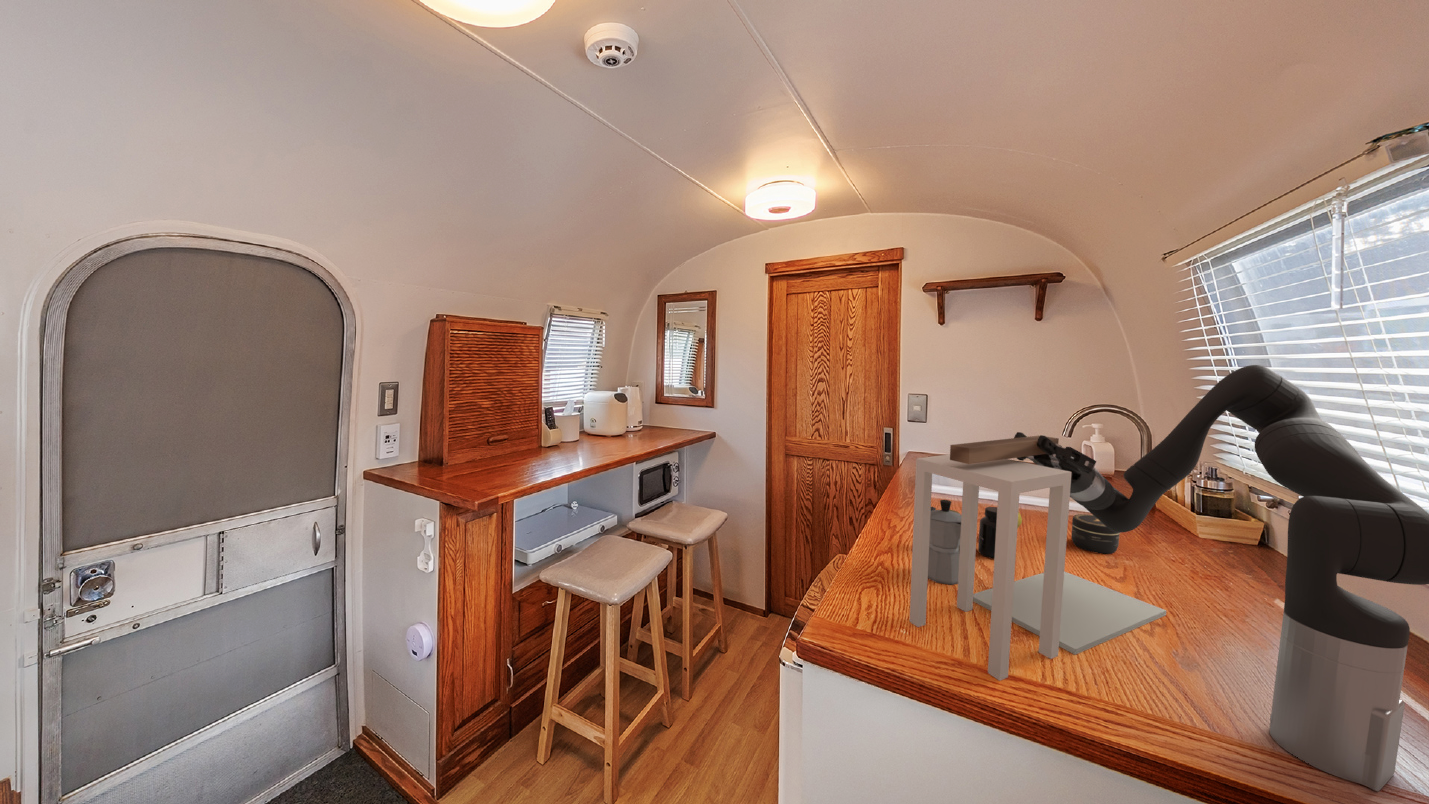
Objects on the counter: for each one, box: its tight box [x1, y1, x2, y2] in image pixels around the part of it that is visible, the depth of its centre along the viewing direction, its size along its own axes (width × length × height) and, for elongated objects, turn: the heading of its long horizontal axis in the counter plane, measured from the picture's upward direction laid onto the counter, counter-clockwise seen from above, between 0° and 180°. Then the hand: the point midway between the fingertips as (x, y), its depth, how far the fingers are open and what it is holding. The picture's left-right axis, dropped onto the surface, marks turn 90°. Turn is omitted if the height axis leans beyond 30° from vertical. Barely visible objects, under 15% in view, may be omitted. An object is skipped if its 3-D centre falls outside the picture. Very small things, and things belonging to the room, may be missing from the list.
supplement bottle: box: [977, 506, 997, 560], centre depth 119 cm, size 7×7×12 cm
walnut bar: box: [949, 435, 1059, 464], centre depth 83 cm, size 4×24×3 cm, turn 114°
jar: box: [1071, 513, 1121, 555], centre depth 124 cm, size 10×10×8 cm
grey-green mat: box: [973, 570, 1167, 656], centre depth 95 cm, size 20×30×1 cm, turn 114°
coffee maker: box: [928, 499, 962, 586], centre depth 108 cm, size 15×9×18 cm, turn 22°
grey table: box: [909, 453, 1072, 682], centre depth 83 cm, size 18×15×32 cm
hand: (1028, 438), depth 85 cm, fingers closed on walnut bar, 3 cm apart
